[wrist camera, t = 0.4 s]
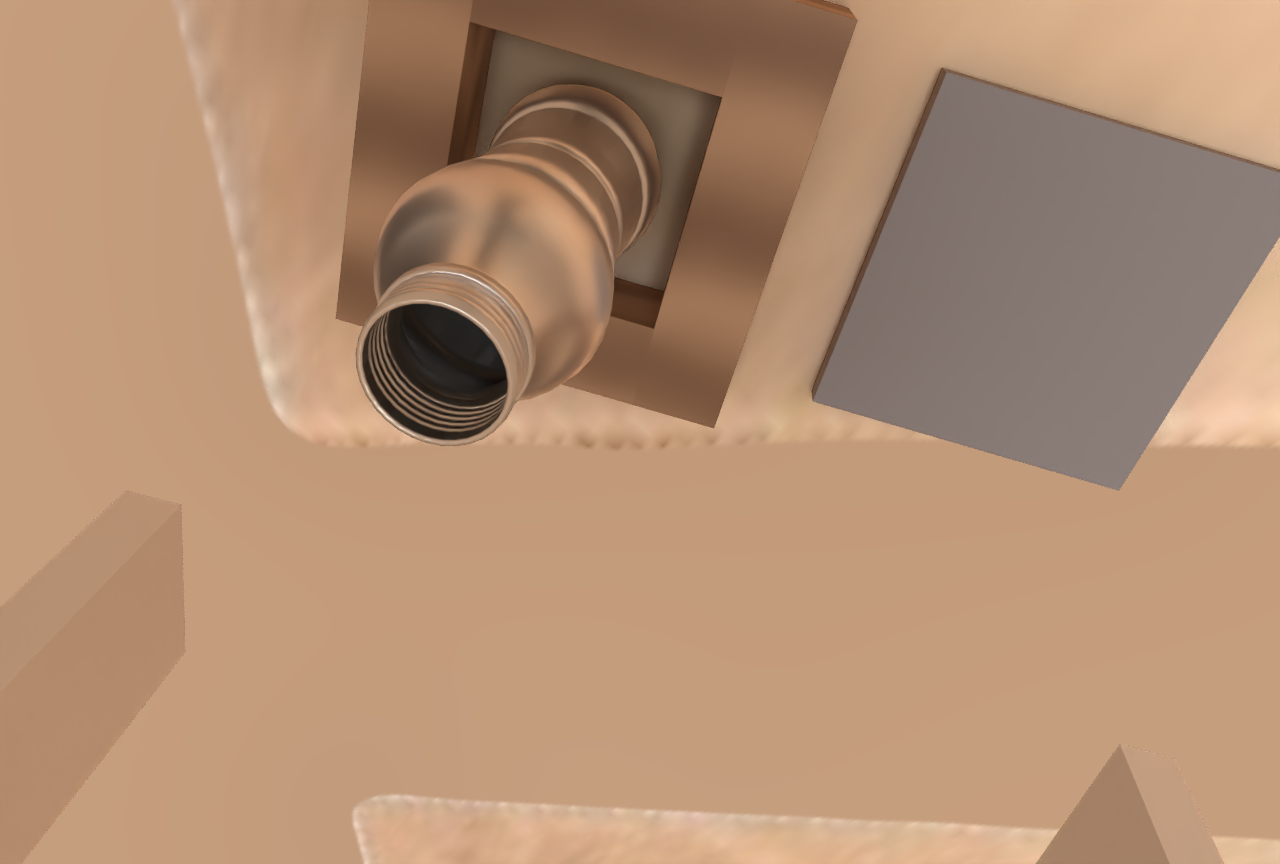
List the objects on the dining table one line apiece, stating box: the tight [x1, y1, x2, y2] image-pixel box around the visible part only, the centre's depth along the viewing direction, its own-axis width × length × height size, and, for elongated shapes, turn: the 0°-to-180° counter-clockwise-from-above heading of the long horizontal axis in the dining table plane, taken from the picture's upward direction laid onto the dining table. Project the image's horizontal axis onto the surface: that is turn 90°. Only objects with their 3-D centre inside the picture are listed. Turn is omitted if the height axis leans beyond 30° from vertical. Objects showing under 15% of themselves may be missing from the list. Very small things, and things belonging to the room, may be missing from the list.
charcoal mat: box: [812, 68, 1280, 490], centre depth 38 cm, size 14×14×1 cm
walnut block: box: [336, 0, 857, 428], centre depth 36 cm, size 16×16×4 cm
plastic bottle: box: [356, 84, 661, 446], centre depth 30 cm, size 6×7×20 cm
